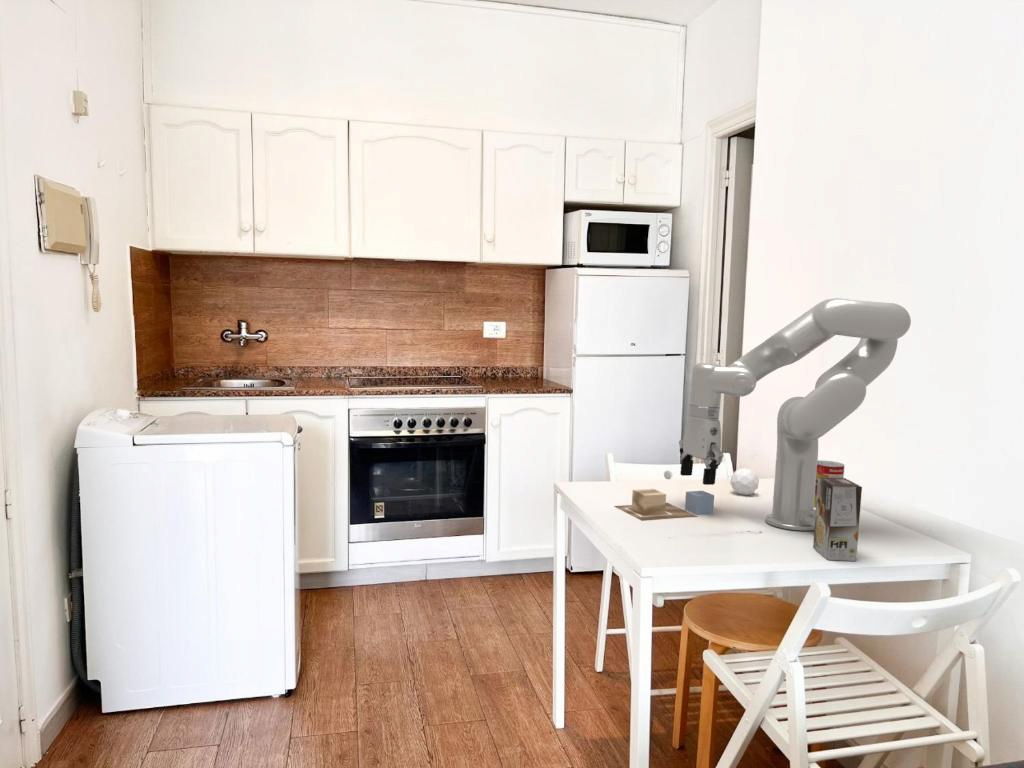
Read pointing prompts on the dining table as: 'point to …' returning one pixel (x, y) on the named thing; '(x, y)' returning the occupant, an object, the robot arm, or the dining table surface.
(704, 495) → the slate block
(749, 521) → the dining table surface
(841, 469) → the canned food
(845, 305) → the robot arm
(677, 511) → the plate
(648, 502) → the oak block
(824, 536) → the coffee box
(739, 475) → the geometric ball
